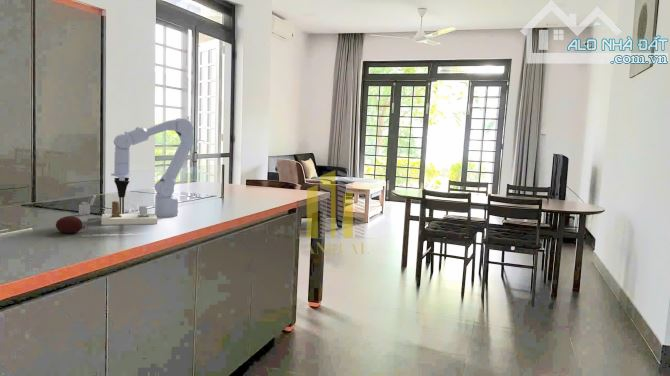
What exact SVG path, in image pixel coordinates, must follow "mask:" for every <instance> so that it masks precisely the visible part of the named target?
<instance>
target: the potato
mask: <svg viewBox="0 0 670 376" xmlns="http://www.w3.org/2000/svg"><path fill="white" fill-rule="evenodd" d="M83 224H84V223H83V221H82V220H81V219H80V218H79V217H76V216H74V215H73V216H72V215H69V216H68V215H67V216H63V217H61V218H58V220H57V221H56V222H55V227H56V230H58V232H61V233H64V234H65V233H66V234H74V233H78V232H79V231H81V230H82V228H83V226H84V225H83Z"/></svg>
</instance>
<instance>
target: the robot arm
mask: <svg viewBox="0 0 670 376" xmlns="http://www.w3.org/2000/svg"><path fill="white" fill-rule="evenodd" d="M165 131H172V132H173V131H174V132H175V133H176V134H177V135H178V137H179V140H180V143H179V145H178V147H177V148H176V151H175V152H174V155H173V157H172V159H171V161H170V162H169V165H168V166H167V169H165V170H166V171H165V173H164V174H163V175H162V176H161V178H160V179H159V180H158V181H157V182H156V183H155V185H154V190H155V192H156V194H155V196H154V200H155V201H154V214H156V216H157V217H163V218H164V217H166V218H167V217H178V214H179V209H178V207H179V202H178V200H179V199H178V197H177V196H174V195H173V194H174V192H175V185H176V181H177V177H178V175H179V174H180V171H181V169H182V167H183V165H184V163H185V161H186V159H187V158H188V156H189V153H190V151H191V149H192V148H193V145H194V143H195V138H194V126H193V124H192V122H191V121H190V120H189V119H188V118H182V117H181V118H178V117H177V118H175V119H170V120H165V121H163V122H161V123H158V124H156V125H153V126H150V127H147V128H145V127H139V126H137V127H135V129H133V130H130V131H124V133H123V134H118V135H115V137H114V140H113V144H114V146H115V147H114V162H113V163H114V166H113V167H114V169H113V171H114V173H111V174H110V176H111V177H114V178H113V179H114V180H113V182H114V184H115V186H116V190H117V196H118V198H125V197H126V192H127V188H128V186H129V184H130V180H129V179H130V178H129V177H130V176H131V174H130V162H131V158H130V157H131V156H130V155H131V154H130V147H131V146H135V145H138V144H141V143H143V142H145V141H148V139H149V137H150V136H154V135H156V134H160V133H163V132H165Z"/></svg>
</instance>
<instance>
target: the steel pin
mask: <svg viewBox="0 0 670 376" xmlns="http://www.w3.org/2000/svg"><path fill="white" fill-rule="evenodd" d="M139 214H140V215H139V217H147V214H148V206H146V205H145V206H143V205H142V206H139Z"/></svg>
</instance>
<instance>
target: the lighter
mask: <svg viewBox="0 0 670 376" xmlns="http://www.w3.org/2000/svg"><path fill="white" fill-rule="evenodd" d="M96 198H97V196H96V195H94V194H90V196H89V198H88V201H82V202H81V204H79V205H78V215H79V216H86V214H87V215H91V206H93V205H94V203H95V201H96Z"/></svg>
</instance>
